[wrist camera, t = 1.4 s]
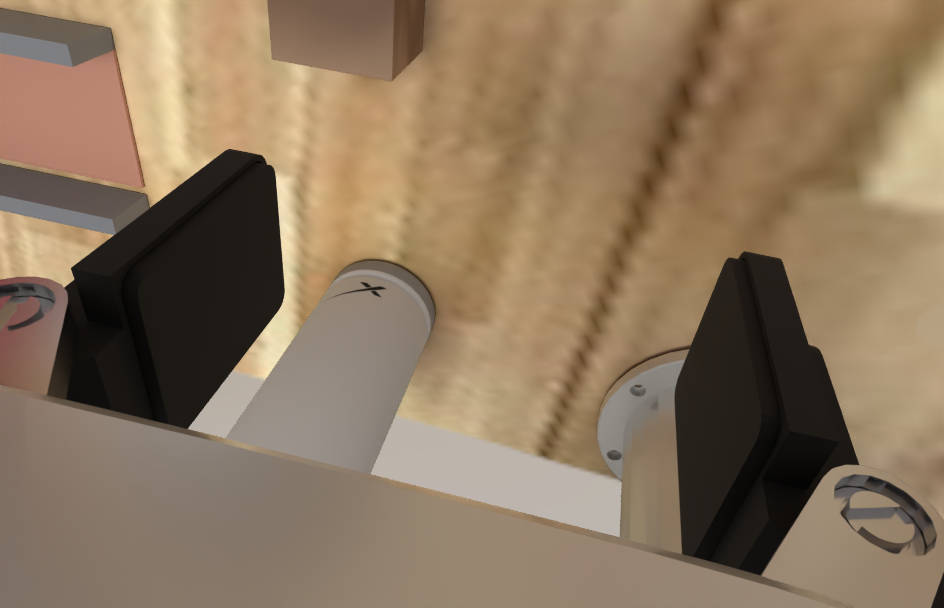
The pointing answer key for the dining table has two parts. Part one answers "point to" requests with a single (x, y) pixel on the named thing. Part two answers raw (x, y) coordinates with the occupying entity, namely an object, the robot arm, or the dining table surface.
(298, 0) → the walnut block
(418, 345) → the travel mug
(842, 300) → the dining table surface
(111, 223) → the bay rack
